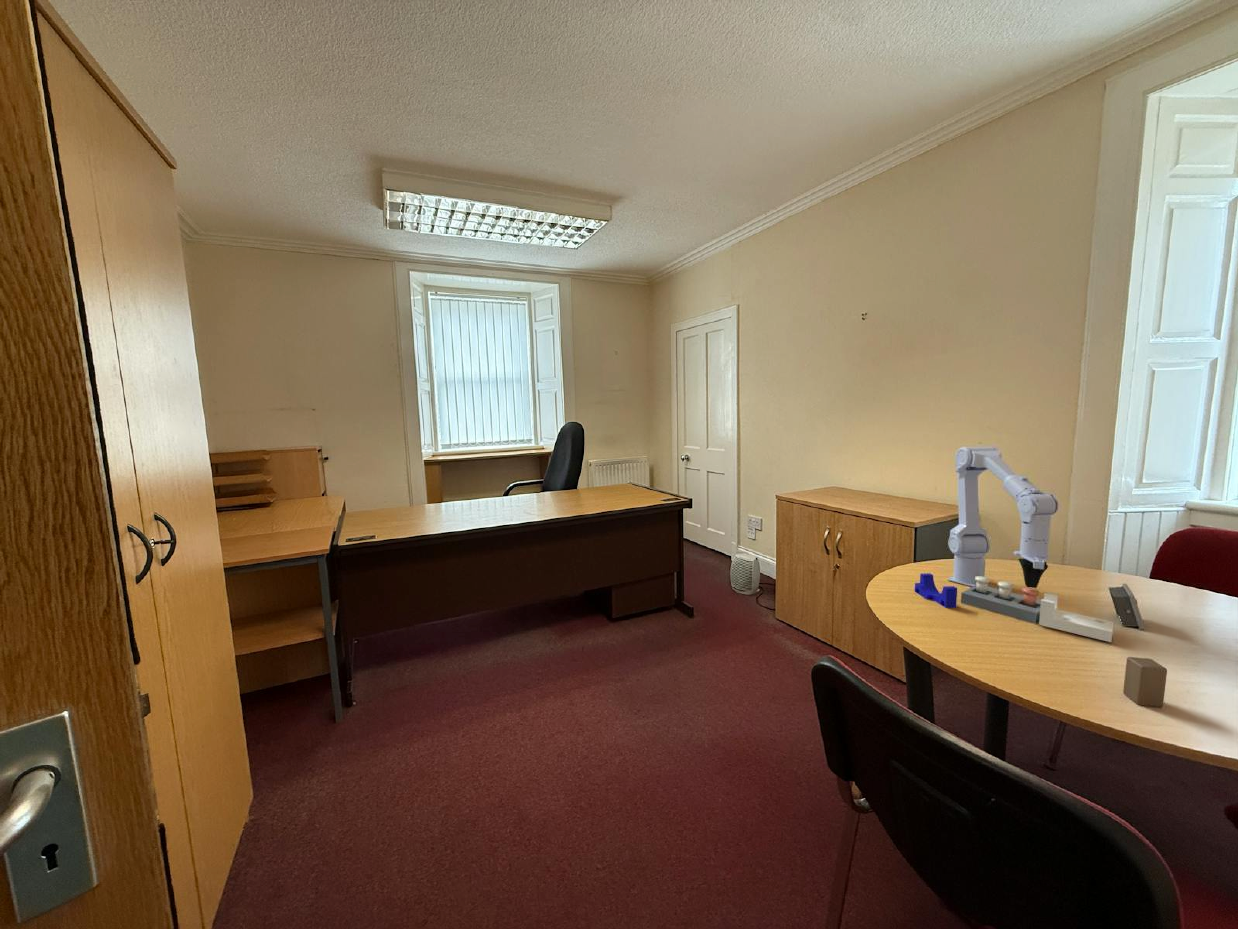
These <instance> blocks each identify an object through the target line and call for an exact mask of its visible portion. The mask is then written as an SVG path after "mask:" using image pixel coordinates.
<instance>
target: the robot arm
mask: <svg viewBox="0 0 1238 929" xmlns="http://www.w3.org/2000/svg"><path fill="white" fill-rule="evenodd" d="M1002 458H1003V454H1002V452H1001V451H1000V450H999V449H998V448H997V447H996V446H993V445H989V446H969V447H967V446H962V447H960V448H959V449H957V451H956V452H955V453H954V463H955V465H954V466H955V467H954V468H955V472H956V473H957V474H956V475H957V476H956V477H957V478H956V481H957V500H958V501H957V504H958V505H957V506H958V524H957V525H956V526H954V527H953V528H952V529H950V531H949V538H948V542H947V544H948V548H949V550H950V552H951V553H952V554H954V556H953V569H952V570H953V573H952V575H953V576H950V577H948V578H947V580H948V581H950V582H954V583H958V584H961V585H965V586H969V587H973V586H975V585H977V581H976V580H975V577H976V576H982V577H986V576H985V573H986V559H985V555H986V554H988V553H989V551H990V550H991V542H990V539H989V536H988V535H989V534H988V530H986V529H985V528H983V527H982V526H980V510H979V509H980V506H979V505H980V504H979V479H978V478H979V476H980V475H981V474H982V473H984V472H985V471H989V472H990V473H991V474H993V475H994V476H995V477H996V478H998V479H999V480H1001V481H1002V482H1003V486H1002V488H1003V489H1004V490H1005V491H1006V492H1007V493H1008V494H1009V495H1010V496H1011V497H1012V498H1013V499H1014V500H1015V501H1016V505H1017V506H1016V507H1017V510H1018V512H1019V519H1020V521H1021V530H1020V542H1019V550H1015V551H1013V554H1014V555H1015V556H1017V557H1018V556H1019V557H1020V558H1018V559H1017V560H1018V562H1019V563H1020V567H1021V570H1022V573H1023V574H1022V575H1023V580H1024V583H1025V584H1024V585H1025V588H1033V589H1037V587H1038V586H1039V584H1040V580H1041V578H1042V576H1043V574H1044V573H1045V571H1047V569H1048V568H1049V565H1048V563H1047V561H1049V558H1050V556H1049V546H1050V545H1049V544H1050V533H1051V532H1050V531H1051V520H1052V515H1055V514H1056V513H1057V512H1058V510H1059V501H1058V499H1057V498H1056V497H1055V494H1053V493H1050V492H1045V491H1041V490H1040V488H1038V487H1037V486H1036V485H1034V484H1033V483H1032V482H1031V481H1030V480H1029V478H1028V476H1027V475H1022V474H1016V473H1015V472H1014V471H1013V469H1012V468H1011V467H1010V466H1009V464H1007V463H1006V462H1005V460H1004V459H1002Z"/></svg>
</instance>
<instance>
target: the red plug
mask: <svg viewBox="0 0 1238 929" xmlns="http://www.w3.org/2000/svg"><path fill="white" fill-rule="evenodd" d="M1021 592H1022V593H1023V596H1024V598H1023V603H1025V604H1028V605H1036V599H1037V597H1038V596H1039V593H1040V592H1039V590H1038V589H1037V588H1031V587H1022V588H1021Z"/></svg>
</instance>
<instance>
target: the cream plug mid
mask: <svg viewBox="0 0 1238 929" xmlns="http://www.w3.org/2000/svg"><path fill="white" fill-rule="evenodd" d="M997 587H999V588H998V589H999V597H1001V598H1006V599H1010V598H1011V593H1012V590H1013V589H1014V584H1013V583H1011V582H1008V581H998V582H997Z"/></svg>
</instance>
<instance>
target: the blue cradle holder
mask: <svg viewBox="0 0 1238 929" xmlns="http://www.w3.org/2000/svg"><path fill="white" fill-rule="evenodd" d="M914 592H915V593H916V594H917V593H918V595H919V596H920V597H922V598H924V599H925V600H927V601H929V600H932V601H934V602H936V603H937V604H939V605H940V606H942V607H943V608H945V609H953V608H955V609H956V608H957V602H958V601H957V599H958V587H957V586H956V587H955V586H954V585H948V586H945V585H944V586H942V591H941V592H939V590H938V589H937V587H936V584H935V581H934V574H932V573H929V572H927V573H920V574H919V582H915V583H914ZM928 599H929V600H928Z"/></svg>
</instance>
